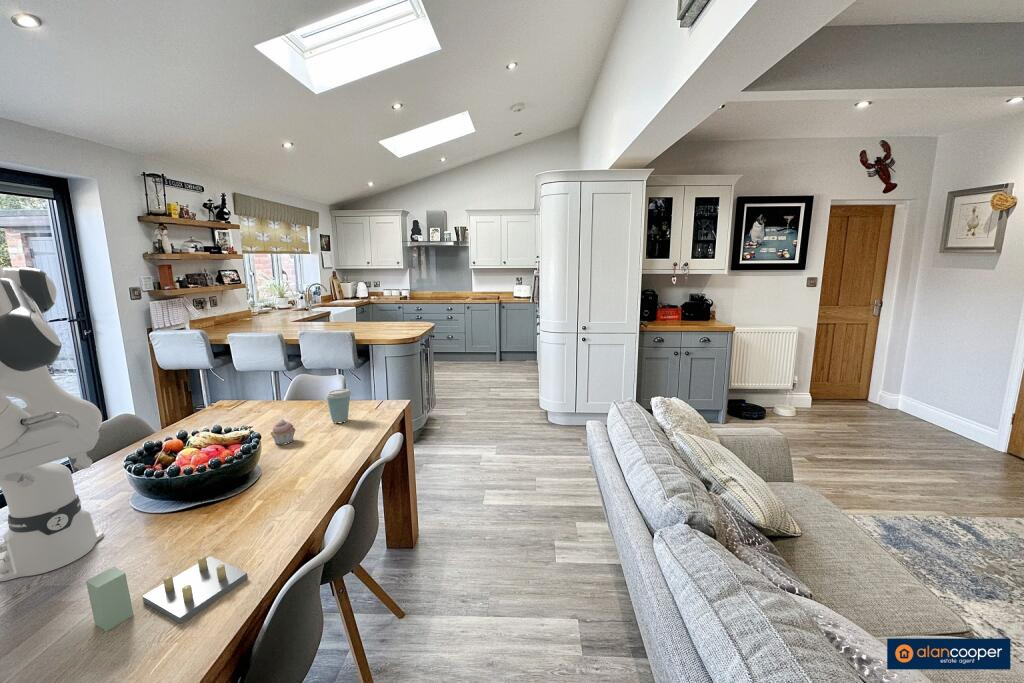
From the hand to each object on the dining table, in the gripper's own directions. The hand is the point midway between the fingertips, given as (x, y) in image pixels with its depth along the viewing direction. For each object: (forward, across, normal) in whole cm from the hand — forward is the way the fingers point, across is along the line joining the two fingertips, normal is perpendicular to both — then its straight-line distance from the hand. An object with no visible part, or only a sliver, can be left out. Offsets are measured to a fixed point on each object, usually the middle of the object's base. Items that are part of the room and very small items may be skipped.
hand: (58, 474), depth 79 cm
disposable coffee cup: (+89, -21, -79) cm, 121 cm away
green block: (+31, +6, +13) cm, 34 cm away
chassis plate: (+36, -6, +10) cm, 38 cm away
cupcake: (+76, -2, -64) cm, 99 cm away
